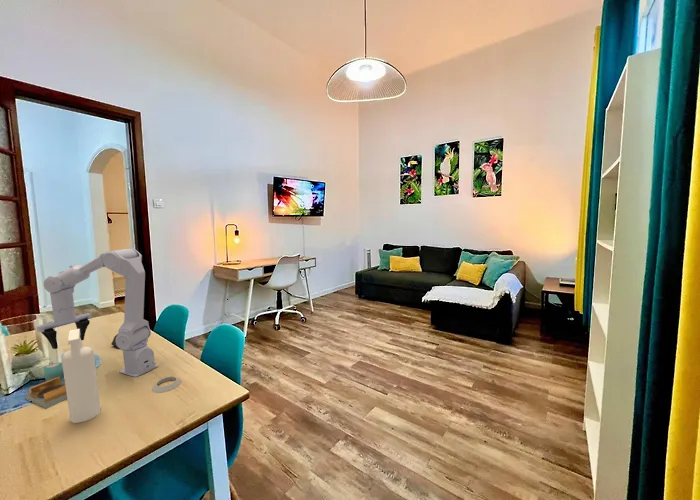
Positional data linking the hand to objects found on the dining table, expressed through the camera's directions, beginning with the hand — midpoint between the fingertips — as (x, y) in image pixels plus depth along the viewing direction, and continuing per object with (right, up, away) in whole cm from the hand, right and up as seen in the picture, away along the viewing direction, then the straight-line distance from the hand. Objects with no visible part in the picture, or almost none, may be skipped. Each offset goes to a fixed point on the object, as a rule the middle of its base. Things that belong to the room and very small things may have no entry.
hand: (68, 343), depth 109 cm
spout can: (+1, -11, -6) cm, 12 cm away
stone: (+2, -7, +23) cm, 24 cm away
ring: (+42, -11, -10) cm, 45 cm away
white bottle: (+28, -12, -24) cm, 39 cm away
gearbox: (+10, -11, -14) cm, 21 cm away
